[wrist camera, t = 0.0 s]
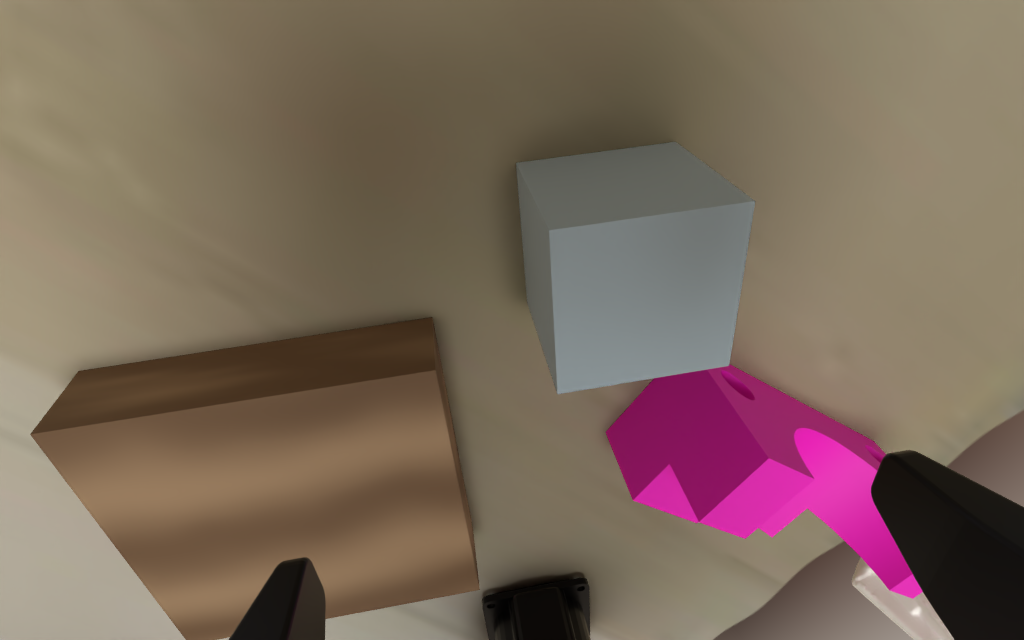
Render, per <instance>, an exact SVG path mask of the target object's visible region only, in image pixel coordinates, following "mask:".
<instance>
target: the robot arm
mask: <svg viewBox="0 0 1024 640" xmlns="http://www.w3.org/2000/svg"><path fill="white" fill-rule="evenodd" d="M871 496H872V499H873V502H874V504H875V506H876V508H877V510H878V512H879V514H880V515H881V517H882V519H883V521H884V523H885V525H886V526H887V528H888V530H889V532H890V534H891V535H892V537H893V539H894V541H895V543H896V545H897V546H898V548H899V550H900V552H901V554H902V556H903V557H904V559H905V561H906V563H907V565H908V567H909V568H910V570H911V572H912V574H913V576H914V578H915V579H916V581H917V583H918V584H919V586H920V588H921V590H922V591H923V593H924V595H925V596H926V598H927V599H928V601H929V602H930V604H931V606H932V607H933V609H934V610H935V612H936V613H937V615H938V616H939V618H940V619H941V621H942V622H943V624H944V625H945V627H946V628H947V629H948V631H949V632H950V634H951V635H952V637H953V638H954V640H1024V507H1022V506H1020V505H1019V504H1017V503H1015V502H1013V501H1011V500H1009V499H1007V498H1005V497H1003V496H1001V495H999V494H997V493H995V492H994V491H991V490H990V489H988V488H986V487H984V486H982V485H980V484H978V483H976V482H974V481H972V480H970V479H969V478H967V477H965V476H963V475H961V474H959V473H957V472H955V471H953V470H951V469H949V468H947V467H945V466H943V465H942V464H940V463H938V462H936V461H934V460H932V459H930V458H928V457H926V456H924V455H922V454H920V453H918V452H915V451H911V450H906V451H900V452H894V453H889V454H887V455H885V456H884V457H883V459H882V461H881V463H880V466H879V468H878V471H877V473H876V476H875V478H874V481H873V483H872V486H871ZM482 605H483V611H484V616H485V621H486V626H487V631H488V636H489V640H591V639H590V607H589V585H588V581H587V579H585V578H576V579H571V580H566V581H561V582H555V583H550V584H545V585H540V586H534V587H529V588H524V589H519V590H514V591H508V592H503V593H498V594H493V595H488V596H486V597H484V598H483V599H482ZM325 611H326V600H325V592H324V588H323V586H322V583H321V581H320V579H319V577H318V574H317V572H316V570H315V568H314V566H313V563H312V561H311V560H310V559H309V558H307V557H302V558H296V559H291V560H285V561H282V562H281V563H279V564H278V565H277V566H276V568H275V569H274V571H273V572H272V574H271V575H270V577H269V578H268V580H267V581H266V583H265V584H264V586H263V588H262V589H261V591H260V592H259V594H258V595H257V597H256V598H255V600H254V601H253V603H252V604H251V606H250V608H249V609H248V611H247V612H246V614H245V615H244V617H243V618H242V620H241V621H240V623H239V624H238V626H237V628H236V629H235V631H234V632H233V634H232V635H231V637H230V638H229V640H325Z"/></svg>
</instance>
